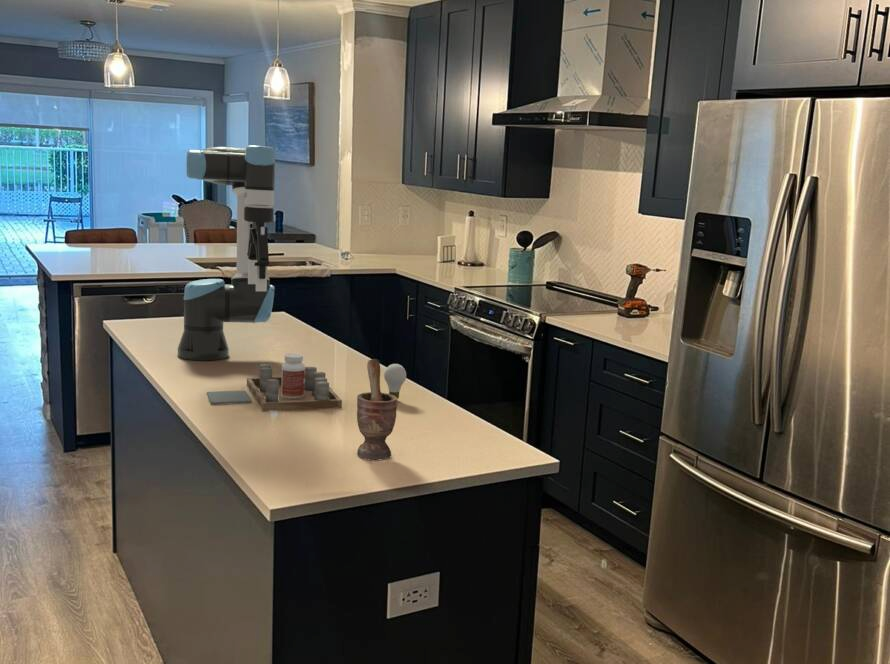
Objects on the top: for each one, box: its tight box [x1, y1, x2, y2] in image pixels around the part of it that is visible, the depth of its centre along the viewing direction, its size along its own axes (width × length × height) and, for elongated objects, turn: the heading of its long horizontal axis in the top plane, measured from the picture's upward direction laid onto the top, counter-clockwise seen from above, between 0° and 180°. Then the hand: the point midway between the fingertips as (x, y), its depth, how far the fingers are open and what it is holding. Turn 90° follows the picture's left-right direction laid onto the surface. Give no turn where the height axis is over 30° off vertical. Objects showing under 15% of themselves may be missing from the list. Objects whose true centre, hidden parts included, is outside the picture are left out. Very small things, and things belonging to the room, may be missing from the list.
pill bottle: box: [280, 353, 306, 400], centre depth 230 cm, size 6×6×11 cm
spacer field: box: [246, 363, 343, 412], centre depth 230 cm, size 25×20×6 cm
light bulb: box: [383, 363, 407, 400], centre depth 232 cm, size 6×6×10 cm
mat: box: [206, 390, 253, 406], centre depth 225 cm, size 10×10×1 cm
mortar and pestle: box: [356, 358, 398, 461], centre depth 189 cm, size 12×9×20 cm
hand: (257, 287), depth 231 cm, fingers open, 13 cm apart
